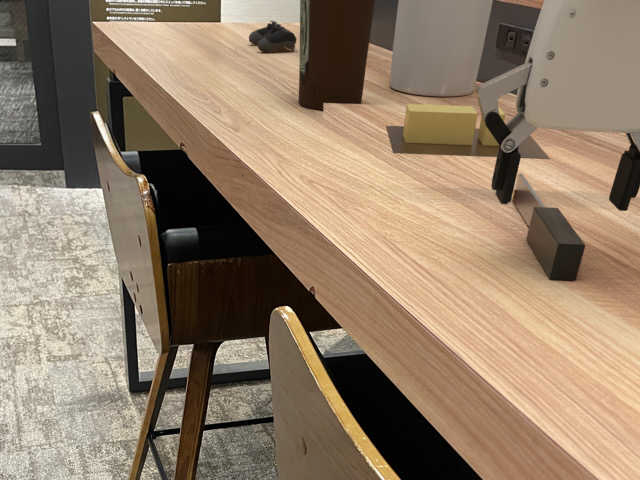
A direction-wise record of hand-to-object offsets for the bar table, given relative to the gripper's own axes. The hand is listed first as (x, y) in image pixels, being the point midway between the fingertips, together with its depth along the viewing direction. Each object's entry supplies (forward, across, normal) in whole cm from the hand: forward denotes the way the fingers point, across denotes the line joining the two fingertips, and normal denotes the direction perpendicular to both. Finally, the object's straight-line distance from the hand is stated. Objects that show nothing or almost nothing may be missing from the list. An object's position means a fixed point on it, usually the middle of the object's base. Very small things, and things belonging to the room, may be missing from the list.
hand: (559, 202), depth 69 cm
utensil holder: (+5, +2, -78) cm, 78 cm away
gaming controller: (+5, +30, -115) cm, 119 cm away
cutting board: (+5, +2, -36) cm, 37 cm away
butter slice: (+3, 0, -36) cm, 36 cm away
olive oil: (+5, +18, -63) cm, 66 cm away
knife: (+5, 0, -6) cm, 8 cm away
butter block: (+3, +6, -36) cm, 37 cm away
